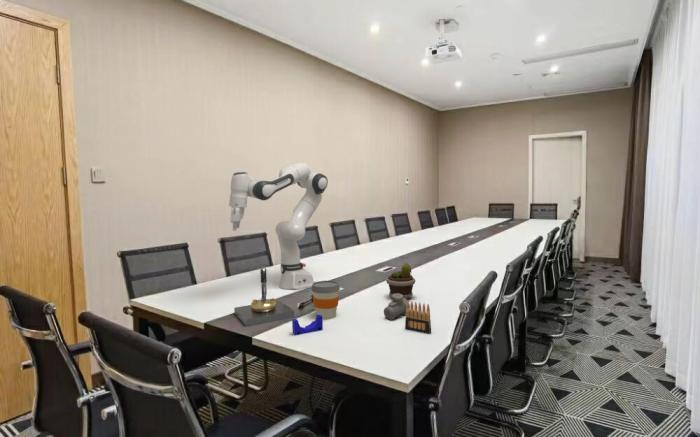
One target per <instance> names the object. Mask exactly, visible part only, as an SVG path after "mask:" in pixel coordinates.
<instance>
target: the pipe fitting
mask: <svg viewBox="0 0 700 437" xmlns="http://www.w3.org/2000/svg"><path fill="white" fill-rule="evenodd" d="M391 299H392V300H391V301H389V303H388V304H387V306H385V307H384V309H383V316H384V317H385V318H386V319H388V320H394V319H395V318H397V317H398V316H400V315H401V316H402V315H404V316H405V315H406V307H407V301H408V300H407V299H405V298H403V295H402V294H398V293H396V294H393V295H392V297H391ZM410 305H411V303H409V307H410Z"/></svg>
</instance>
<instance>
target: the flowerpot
mask: <svg viewBox="0 0 700 437" xmlns="http://www.w3.org/2000/svg"><path fill="white" fill-rule="evenodd" d="M400 268H401V269H397V270H394V271H392V273H391V275H388V277H387V278H386V280H385V282H386V284H387V285H388V288H389V296H390V297H391V298H392V295H393V294H396V293H398V294H402V295H403V298H405V299H407V301H409V300H410V299H412V297H413V295H414V294H413V287H414V285H415V283H416V279H415V278H414V277H413V275H412V272H413V268H412V266H411V265H410V263H408V262H406V263H403V264H402V266H401V267H400Z"/></svg>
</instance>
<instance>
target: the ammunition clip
mask: <svg viewBox="0 0 700 437" xmlns="http://www.w3.org/2000/svg"><path fill="white" fill-rule="evenodd" d="M409 301H410V300H407V307H406V314H405V323H404V329H405V330H408V331H412V332H418V333H423V334H427V335H431V333H432V323H431V322H432V320H431V311H430V309H431V308H430V304H429V303H427V305H426V304H425V302H423V303H422V304H421V302H418V303H417V301H415V302H414V303H413V301H412V300H411V302H409ZM409 304H410V307H409Z"/></svg>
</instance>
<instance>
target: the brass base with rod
mask: <svg viewBox="0 0 700 437" xmlns="http://www.w3.org/2000/svg"><path fill="white" fill-rule="evenodd" d="M267 278H268V277H267V269H266V267H263V268H260V284H261V286H260V289H261V299H255V298H254V299H252V301H251V304H250V305H251V310H252V311H254V312H267V311H271V310H274V309H275V308H276V301H277V300H275V298H274V297H273V298H267V294H268V293H267V289H268V288H267Z"/></svg>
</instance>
